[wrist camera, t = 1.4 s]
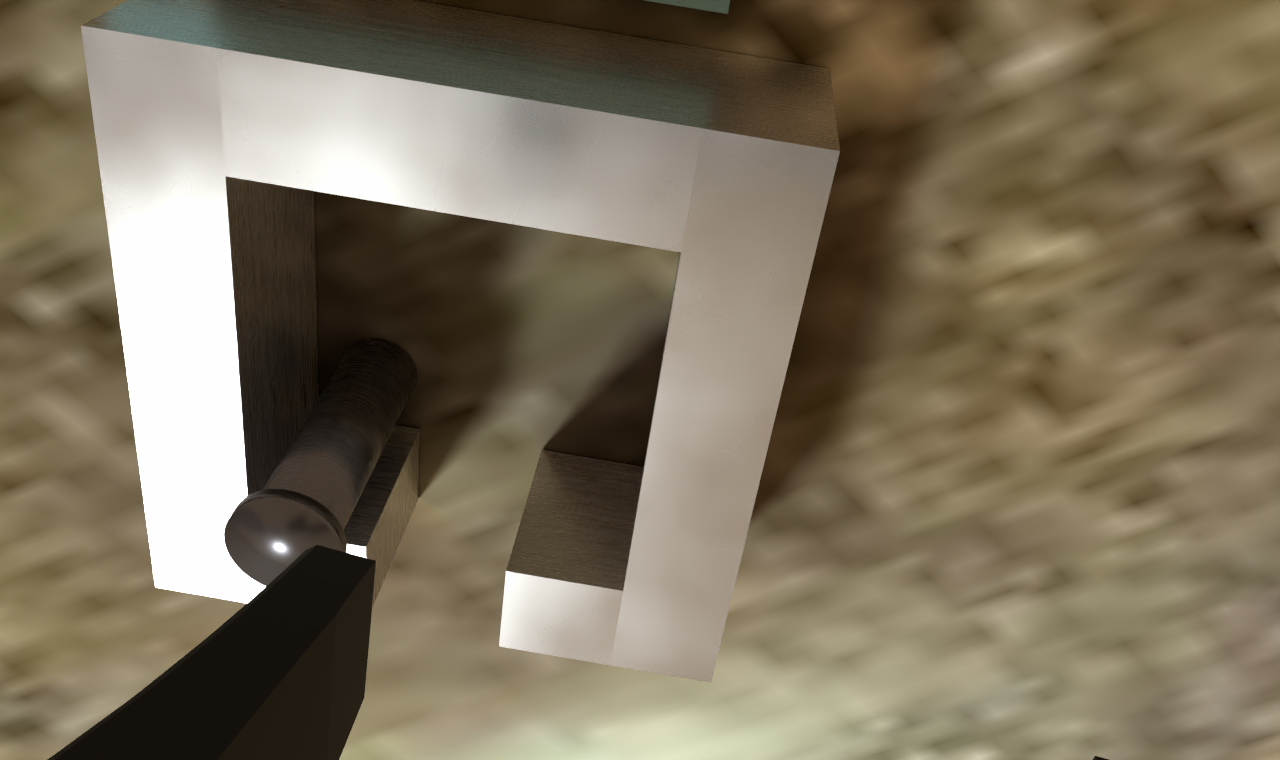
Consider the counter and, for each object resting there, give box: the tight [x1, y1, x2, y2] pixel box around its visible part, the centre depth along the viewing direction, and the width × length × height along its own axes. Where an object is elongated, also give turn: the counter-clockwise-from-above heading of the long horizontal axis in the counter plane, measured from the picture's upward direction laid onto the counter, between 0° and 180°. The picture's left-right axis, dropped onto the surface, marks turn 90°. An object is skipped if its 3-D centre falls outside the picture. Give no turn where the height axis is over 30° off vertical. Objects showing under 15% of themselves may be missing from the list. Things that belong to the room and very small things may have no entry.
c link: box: [81, 0, 840, 682], centre depth 19 cm, size 10×10×4 cm
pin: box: [224, 339, 417, 586], centre depth 19 cm, size 2×2×5 cm
